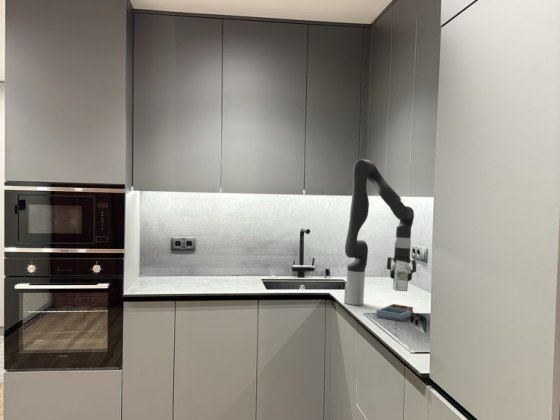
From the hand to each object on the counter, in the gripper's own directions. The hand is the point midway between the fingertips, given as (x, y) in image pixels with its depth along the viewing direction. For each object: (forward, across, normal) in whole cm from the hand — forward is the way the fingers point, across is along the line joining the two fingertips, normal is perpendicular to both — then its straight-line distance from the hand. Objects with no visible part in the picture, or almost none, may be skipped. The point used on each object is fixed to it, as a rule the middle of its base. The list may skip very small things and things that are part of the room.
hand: (400, 279), depth 226 cm
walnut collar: (+16, 0, 0) cm, 16 cm away
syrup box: (+5, 0, 0) cm, 5 cm away
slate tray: (+16, -2, +13) cm, 21 cm away
